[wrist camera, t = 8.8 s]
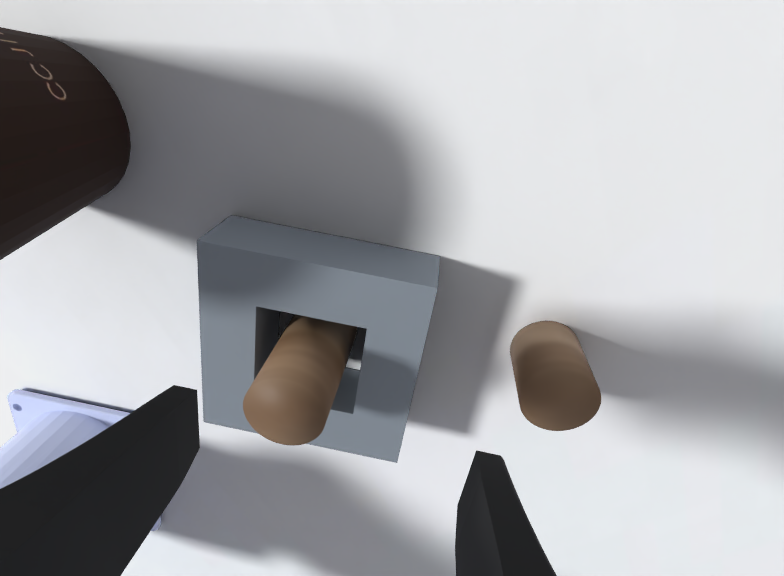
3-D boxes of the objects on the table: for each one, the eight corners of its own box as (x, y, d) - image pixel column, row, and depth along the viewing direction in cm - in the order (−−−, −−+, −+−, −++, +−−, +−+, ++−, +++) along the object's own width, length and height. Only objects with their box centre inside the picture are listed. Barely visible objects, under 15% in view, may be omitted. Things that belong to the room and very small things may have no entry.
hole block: (403, 416, 24) (397, 462, 21) (231, 380, 24) (203, 421, 21) (440, 256, 19) (437, 288, 17) (231, 215, 20) (196, 240, 17)
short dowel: (565, 382, 22) (584, 437, 19) (502, 369, 22) (510, 422, 19) (589, 328, 20) (613, 378, 17) (520, 314, 20) (532, 362, 17)
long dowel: (355, 356, 22) (324, 450, 17) (294, 347, 23) (245, 438, 17) (359, 301, 21) (326, 386, 16) (294, 293, 21) (240, 373, 16)
